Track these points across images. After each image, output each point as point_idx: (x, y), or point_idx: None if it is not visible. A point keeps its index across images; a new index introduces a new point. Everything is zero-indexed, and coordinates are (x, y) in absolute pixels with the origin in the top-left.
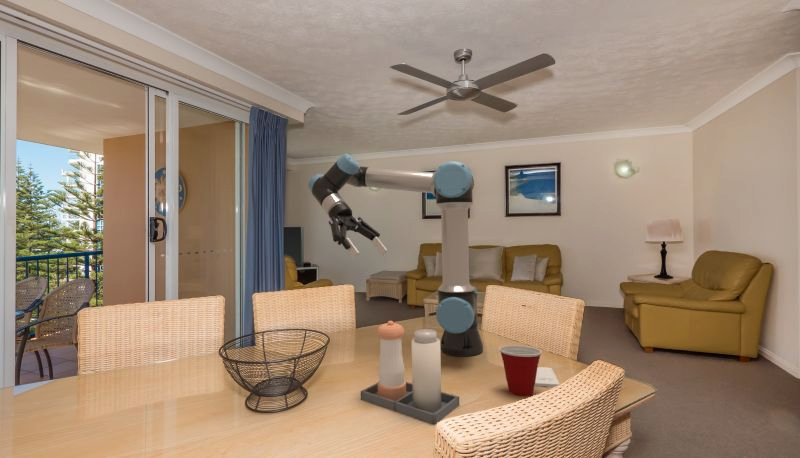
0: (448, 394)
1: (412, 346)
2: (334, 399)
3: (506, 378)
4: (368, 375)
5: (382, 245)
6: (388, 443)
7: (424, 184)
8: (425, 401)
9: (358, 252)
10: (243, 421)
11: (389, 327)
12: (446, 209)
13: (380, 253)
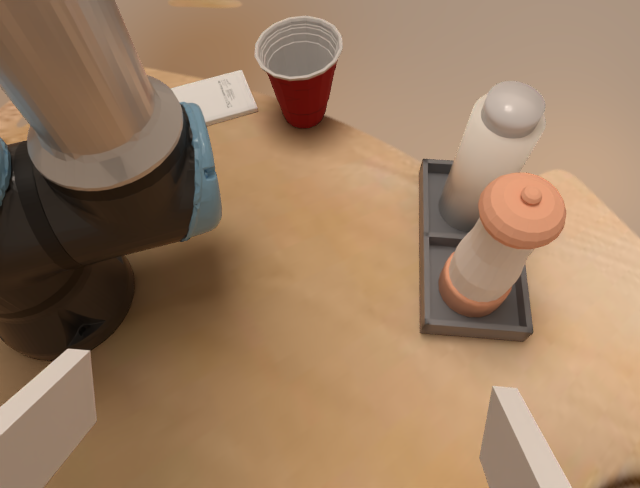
0: (425, 176)
1: (536, 142)
2: (553, 411)
3: (316, 108)
4: (384, 432)
5: (42, 390)
6: (590, 216)
7: None
8: None
9: (505, 388)
10: None
11: (550, 189)
12: None
13: (80, 434)
